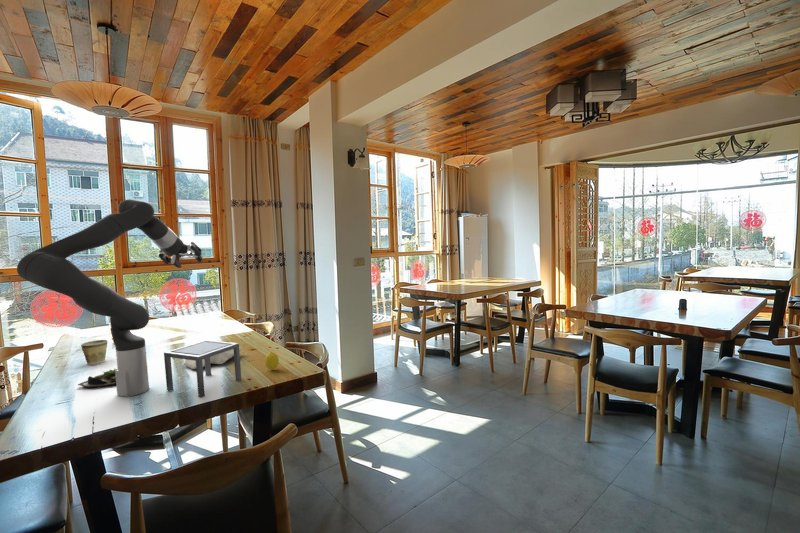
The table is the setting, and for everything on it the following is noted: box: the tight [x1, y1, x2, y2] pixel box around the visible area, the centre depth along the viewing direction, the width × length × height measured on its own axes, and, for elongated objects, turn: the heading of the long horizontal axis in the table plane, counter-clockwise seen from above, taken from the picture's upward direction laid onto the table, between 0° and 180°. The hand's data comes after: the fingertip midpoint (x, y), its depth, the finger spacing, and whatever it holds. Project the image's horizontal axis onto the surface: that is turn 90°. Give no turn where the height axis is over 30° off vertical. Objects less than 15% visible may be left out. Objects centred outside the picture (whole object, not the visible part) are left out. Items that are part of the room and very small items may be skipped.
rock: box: [184, 346, 243, 370], centre depth 179 cm, size 19×7×25 cm
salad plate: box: [77, 368, 118, 390], centre depth 161 cm, size 19×18×5 cm
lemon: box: [264, 351, 279, 371], centre depth 164 cm, size 6×6×8 cm
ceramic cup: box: [80, 339, 108, 366], centre depth 187 cm, size 13×10×10 cm
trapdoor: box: [174, 342, 230, 355], centre depth 149 cm, size 14×14×1 cm
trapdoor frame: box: [163, 339, 242, 398], centre depth 150 cm, size 19×19×15 cm
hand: (190, 263), depth 156 cm, fingers open, 8 cm apart
